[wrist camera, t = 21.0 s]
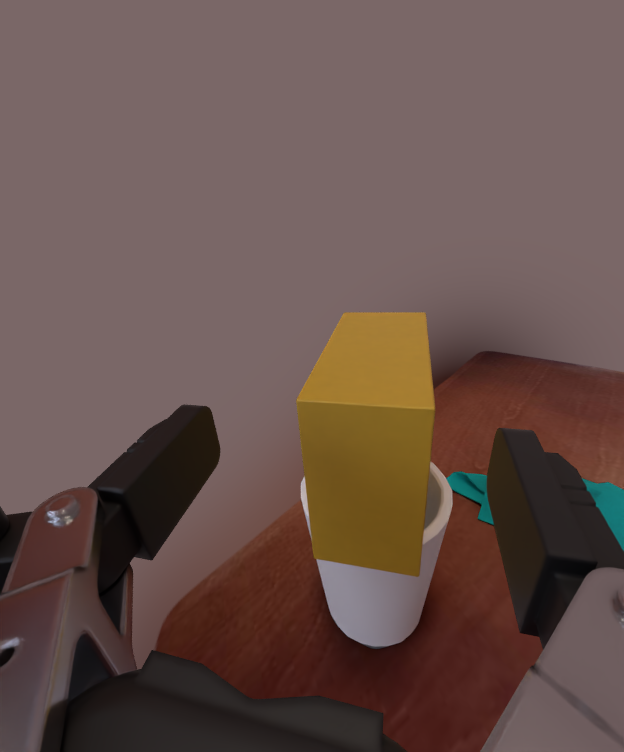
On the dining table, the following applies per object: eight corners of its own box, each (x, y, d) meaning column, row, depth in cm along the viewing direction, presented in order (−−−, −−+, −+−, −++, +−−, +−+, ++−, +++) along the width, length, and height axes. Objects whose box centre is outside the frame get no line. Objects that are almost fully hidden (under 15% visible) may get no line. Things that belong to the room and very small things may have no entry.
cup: (297, 573, 32) (281, 463, 26) (390, 533, 35) (394, 426, 29) (348, 700, 24) (340, 580, 18) (464, 634, 27) (490, 512, 21)
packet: (312, 558, 19) (294, 399, 15) (347, 429, 30) (342, 312, 25) (420, 578, 18) (437, 408, 13) (417, 435, 28) (426, 312, 24)
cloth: (818, 578, 29) (835, 559, 28) (818, 729, 21) (841, 711, 20) (494, 437, 47) (496, 423, 46) (432, 491, 40) (434, 475, 38)
